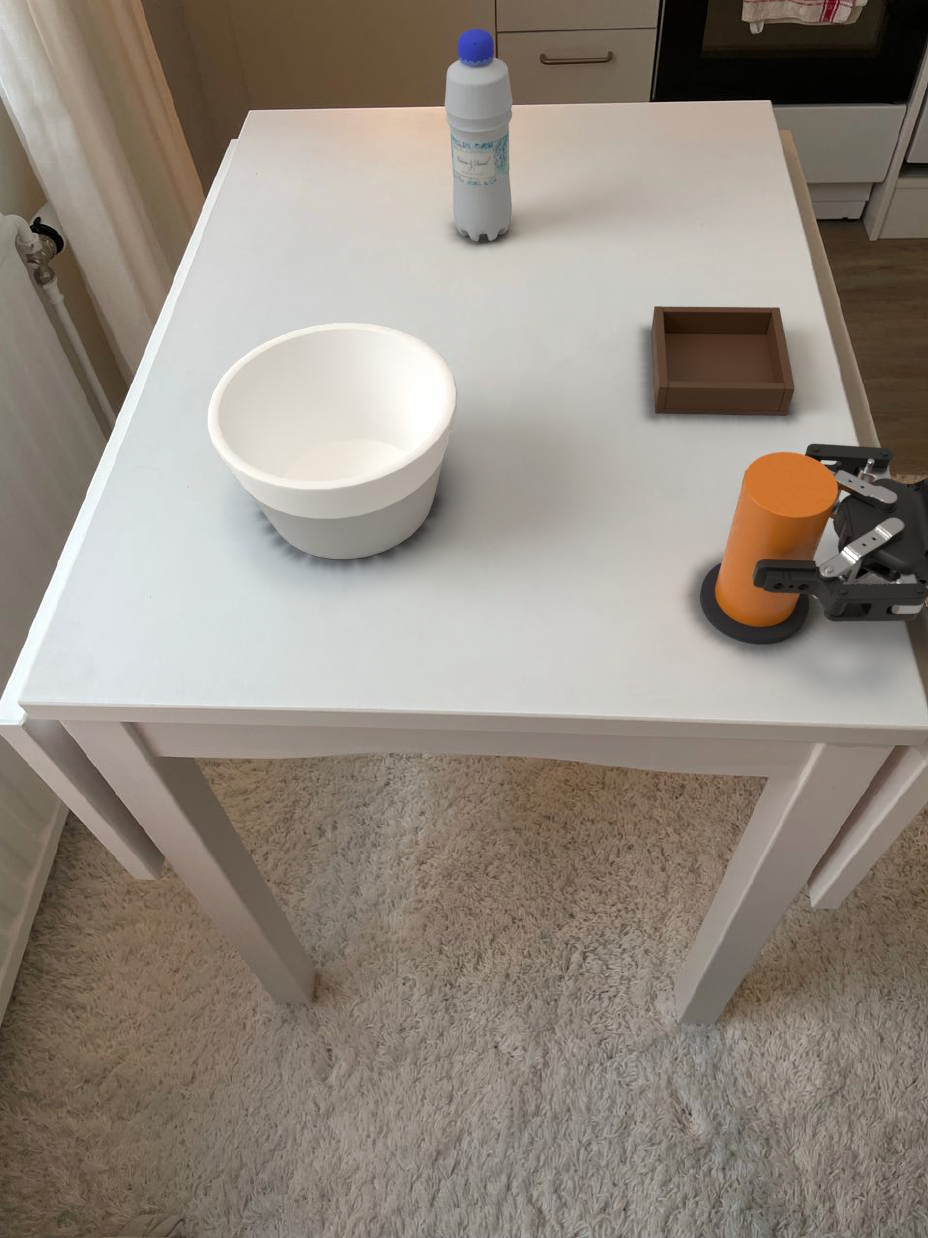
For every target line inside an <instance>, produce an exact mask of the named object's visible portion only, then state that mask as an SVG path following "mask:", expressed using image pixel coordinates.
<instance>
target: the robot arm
mask: <svg viewBox="0 0 928 1238" xmlns="http://www.w3.org/2000/svg"><path fill="white" fill-rule="evenodd" d="M804 455H806V456H808V457H811V458H813V459H815V460H817V461H819V462H820V463H822V461H827V462H835V463H833V464H828V463H827V464H825V463H822V464H823V465H824V466H826V467H827V468H828V469H829V470H830V471H831V473H832V474H833V475H834V477H835V479H836V482H837V485H838V495H837V498H836V501H835V503H834V506H833V509H832V511H831V514H830V517H829V519H831V520H832V527H833V530H834V532H835V533H836V536H837V537H838V543H837V551H838V554H836V555H834V556H833V557H831V558H830V559H828V560H826V561H824V562H823V563H821V564H820V565H819V566H817V563H816V560H813V561H812V560H781V559H761V560H759V561H758V562H757V563H756V566H755V569H754V572H753V584H754V586H755V587H758V588H763V590H765V591H768V592H771V593H780V592H781V593H797V594H808V595H810V596H812V597H813V598H814V599H816V600H819V602H820V603H821V605H822V606H823V608H824V610H823V616H824V618H825V619H827V620H828V621H831V622H834V623H835V622H837V623H838V622H906V621H907V622H911V621H914V620H915V619H916V618H917V616H918V614H919V613H920V612H921V610H922V609H923V606H924V605H925V603H926V600H927V598H928V477H926V478H924V479H921V480H919V481H916V482H913V483H905V482H901V481H897V480H895V479H892V477H891V471H890V465H891V462H892V460H893V458H894V452H893V451H892V450H891V449H889V448H886V447H878V446H877V447H875V446H859V445H846V444H845V445H843V444H827V443H810V444H809V445H807V448H806V450H805V453H804ZM745 473H746V470H745V471H744V473H743V477H742V478H743V479H742V481H741V484H742V483H743V480H744V476H745ZM842 491H843V492H846V493H847V494H848V495H847V496H845V497H844V498H843V499H842V500H841V501H840V496H841V494H842ZM870 575H875V576H876V577H879V578H880V579H882V580H883V581H887V582H888V583H859V582H861V581H862V580H864V579H866V578H867V577H869V576H870Z"/></svg>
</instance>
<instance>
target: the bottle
mask: <svg viewBox="0 0 928 1238" xmlns="http://www.w3.org/2000/svg"><path fill="white" fill-rule="evenodd" d="M457 55H458V59H457V60H456V61H454V62H453V63H452V64H451V65H450V66H449V67H447V71H446V81H445V82H446V83H445V85H446V86H445V95H444V96H445V97H444V108H445V111H446V115H445V120H446V123H447V124H448V126H449V130H450V131H449V132H450V147H451V163H452V166H451V167H452V179H453V180H452V182H453V183H452V212H453V217H454V218H453V219H454V222H455V226H456V228H457V231H458V233H460V235H461V236H463V237H468V236H469V238H470V239H471V241H473V242H479V241H480V237H481V235H487V240H488V241H490V242H491V241H494V240H496V238H498V235H504V234H506V232H507V231H508V230H509V228H510V226H511V225H510V224H511V220H512V210H513V209H512V208H513V205H512V190H511V189H512V188H511V181H510V180H511V179H510V122H511V120H512V118H513V111H512V108H513V102H514V100H513V99H514V98H513V95H512V88H511V81H510V74H509V68H508V66H507V64H506V63H505V62H504V61H503V60H501V59H500V58H497V57H495V44H494V38H493V36H492V35H491V34H490V32H489V31H487V30H484V29H482V28H481V29H480V28H473V29H468V30H466V31H464V32H463V33H461V34H460V35H459V37H458V41H457Z"/></svg>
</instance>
